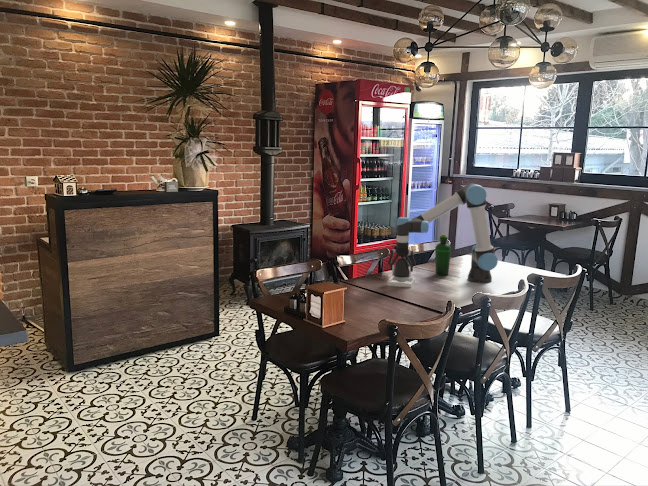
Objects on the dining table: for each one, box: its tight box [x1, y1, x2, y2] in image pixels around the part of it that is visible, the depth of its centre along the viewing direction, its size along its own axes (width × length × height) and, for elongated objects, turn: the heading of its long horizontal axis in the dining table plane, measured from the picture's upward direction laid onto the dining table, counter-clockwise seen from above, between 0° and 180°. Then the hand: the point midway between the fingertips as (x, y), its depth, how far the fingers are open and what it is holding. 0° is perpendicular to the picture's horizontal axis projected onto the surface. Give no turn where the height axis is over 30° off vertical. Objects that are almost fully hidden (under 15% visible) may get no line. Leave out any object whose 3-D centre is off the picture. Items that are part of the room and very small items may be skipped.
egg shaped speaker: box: [393, 256, 410, 282], centre depth 333 cm, size 10×10×15 cm
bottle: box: [434, 233, 452, 277], centre depth 357 cm, size 11×11×28 cm
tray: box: [386, 275, 416, 289], centre depth 335 cm, size 15×15×2 cm
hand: (401, 276), depth 334 cm, fingers closed on egg shaped speaker, 10 cm apart
